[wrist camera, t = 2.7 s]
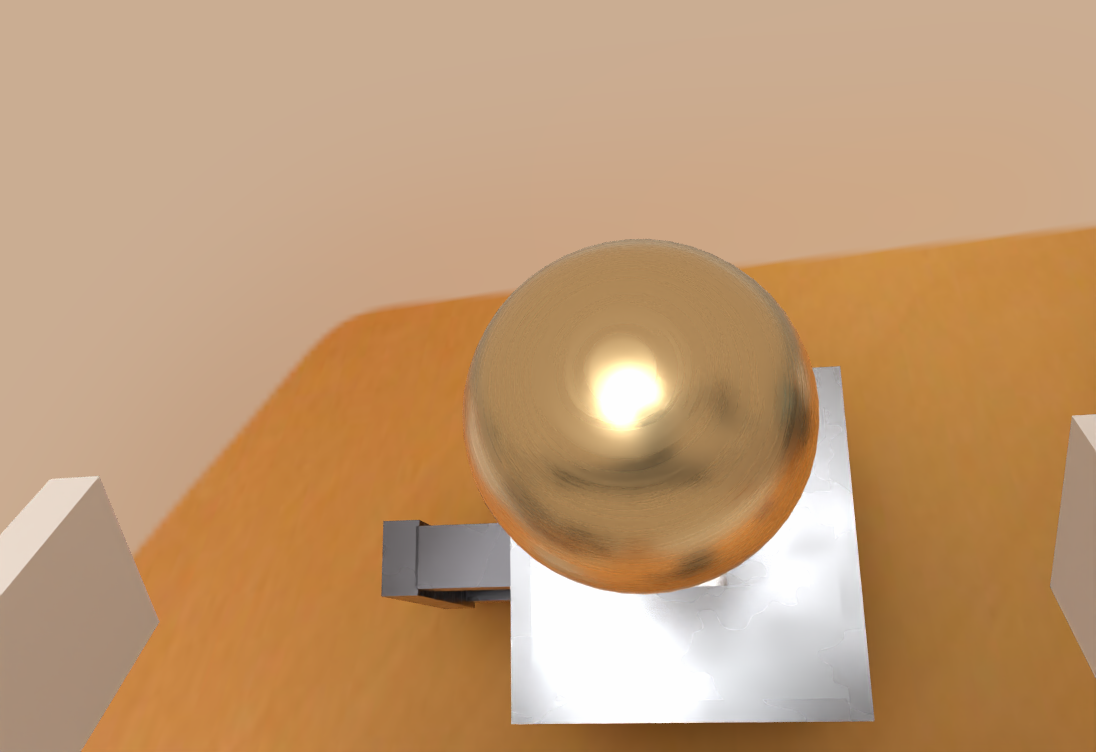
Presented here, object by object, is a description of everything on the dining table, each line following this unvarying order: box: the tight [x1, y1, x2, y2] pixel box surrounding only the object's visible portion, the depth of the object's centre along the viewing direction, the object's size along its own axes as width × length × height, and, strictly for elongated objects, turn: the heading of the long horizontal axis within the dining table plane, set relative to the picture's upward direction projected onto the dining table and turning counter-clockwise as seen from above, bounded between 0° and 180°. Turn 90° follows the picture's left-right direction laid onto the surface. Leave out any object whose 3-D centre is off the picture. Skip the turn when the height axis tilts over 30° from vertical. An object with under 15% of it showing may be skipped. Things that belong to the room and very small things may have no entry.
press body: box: [382, 366, 874, 724], centre depth 37 cm, size 15×10×14 cm
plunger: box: [463, 239, 819, 595], centre depth 23 cm, size 8×8×22 cm
